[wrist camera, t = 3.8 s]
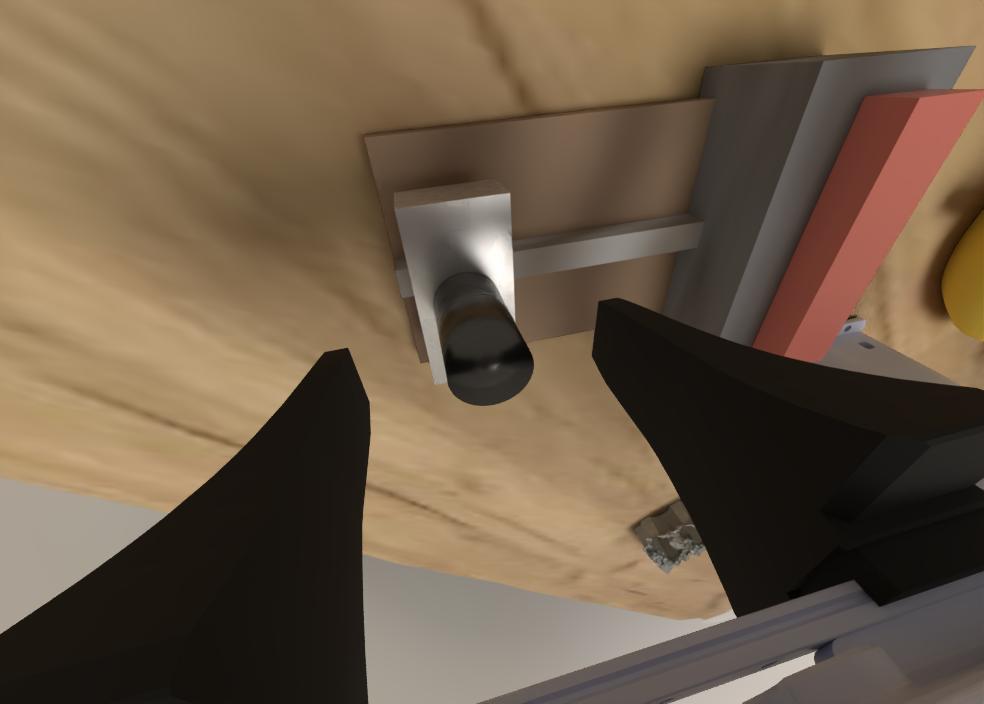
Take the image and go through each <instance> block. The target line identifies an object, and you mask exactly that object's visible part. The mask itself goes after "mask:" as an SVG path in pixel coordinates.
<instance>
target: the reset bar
mask: <svg viewBox="0 0 984 704" xmlns="http://www.w3.org/2000/svg"><path fill="white" fill-rule="evenodd" d="M983 98H984V89H923V90H914V91H906V92H897V93H889V94H880V95H872V96H865V98H864V100H863V102H862V104H861V106H860V109H859V111H858V113H857V115H856V118H855V120H854V122H853V124H852V126H851V129H850V131H849V133H848V135H847V138H846V140H845V142H844V144H843V146H842V149H841V151H840V153H839V155H838V157H837V160H836V162H835V164H834V166H833V169H832V171H831V173H830V175H829V177H828V180H827V182H826V184H825V186H824V188H823V191H822V193H821V195H820V197H819V200H818V202H817V204H816V206H815V208H814V211H813V213H812V215H811V217H810V220H809V222H808V224H807V226H806V228H805V231H804V233H803V235H802V237H801V239H800V242H799V244H798V246H797V248H796V251H795V253H794V255H793V257H792V259H791V262H790V264H789V266H788V268H787V270H786V273H785V275H784V277H783V279H782V282H781V284H780V286H779V288H778V290H777V293H776V295H775V297H774V299H773V302H772V304H771V306H770V308H769V310H768V313H767V315H766V317H765V319H764V321H763V324H762V326H761V328H760V330H759V333H758V335H757V337H756V339H755V341H754V344H753V346H752V348H756V349H759V350H763V351H766V352H769V353H773V354H777V355H781V356H785V357H789V358H793V359H797V360H802V361H806V362H810V363H811V362H815V361H820V360H823V358H824V356H825V355H826V353H827V351H828V350H829V348H830V347H831V345H832V343H833V342H834V340H835V338H836V337H837V335H838V333H839V332H840V330H841V329H842V327H843V325H844V324H845V322H846V320H847V319H848V317H849V316H850V314H851V312H852V311H853V309H854V307H855V306H856V304H857V303H858V301H859V299H860V298H861V296H862V294H863V293H864V291H865V290H866V288H867V286H868V285H869V283H870V281H871V280H872V278H873V277H874V275H875V273H876V272H877V270H878V268H879V267H880V265H881V264H882V262H883V260H884V259H885V257H886V255H887V254H888V252H889V251H890V249H891V247H892V246H893V244H894V242H895V241H896V239H897V238H898V236H899V234H900V233H901V231H902V229H903V228H904V226H905V225H906V223H907V221H908V220H909V218H910V216H911V215H912V213H913V211H914V210H915V208H916V207H917V205H918V203H919V202H920V200H921V198H922V197H923V195H924V194H925V192H926V190H927V189H928V187H929V185H930V184H931V182H932V181H933V179H934V177H935V176H936V174H937V172H938V171H939V169H940V168H941V166H942V164H943V163H944V161H945V159H946V158H947V156H948V155H949V153H950V151H951V150H952V148H953V146H954V145H955V143H956V142H957V140H958V138H959V137H960V135H961V133H962V132H963V130H964V129H965V127H966V125H967V124H968V122H969V120H970V119H971V117H972V116H973V114H974V112H975V111H976V109H977V107H978V106H979V104H980V102H981V101H982V99H983Z"/></svg>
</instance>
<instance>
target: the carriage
mask: <svg viewBox="0 0 984 704" xmlns="http://www.w3.org/2000/svg"><path fill="white" fill-rule="evenodd" d="M394 209H395V214H396V218H397V222H398V227H399V231H400V235H401V240H402V244H403V248H404V253H405V257H406V261H407V266H408V270H409V275H410V279H411V283H412V288H413V292H414V296H415V301H416V305H417V309H418V314H419V318H420V322H421V327H422V331H423V335H424V340H425V344H426V349H427V353H428V357H429V362H430V366H431V370H432V375H433V379H434V383H435V385H438V384H443V383H448V386H449V388H450V390H451V391H452V393H453V394H454V395H455V396H456V397H457V398H458V399H460V400H461V401H463V402H466V403H468V404H472V405H478V406H488V405H495V404H498V403H501V402H504V401H506V400H509V399H510V398H512V397H514V396H515V395H517V394H518V393H519V392H520V391H521V390H523V388H524V387H525V386H526V385H527V383H528V382H529V380H530V378H531V376H532V374H533V369H534V360H533V356H532V354H531V352H530V350H529V348H528V346H527V344H526V342H525V340H524V339H523V337H522V335H521V333H520V331H519V329H518V327H517V325H516V323H515V298H514V274H513V250H512V225H511V201H510V192H509V191H508V190H507V189H505V188H504V187H503V186H502V185H501V184H500V183H499V182H498V181H497V180H496V179H493V180H486V181H478V182H471V183H463V184H456V185H448V186H440V187H433V188H425V189H418V190H410V191H403V192H395V193H394Z"/></svg>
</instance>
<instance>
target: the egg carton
mask: <svg viewBox="0 0 984 704" xmlns="http://www.w3.org/2000/svg"><path fill="white" fill-rule="evenodd" d="M635 531H636V533H637V535H638V536H639V538H640V540H641V542H642V544H643V546H644V548H642V549H643V551H644V552H646V553H647V555H648V556H649V557H650V558H651V560H653V561H654V562H655V563H656V564H657V566H658V567H660V568H661V569H662V570H663V571H664V572H665V573H666V574H668V573H669V572H670V571H671V570H672V568H673V567H674V566H675V565H679V564H680V562H681V560H684V561H686V560H687V559H689V556H690V555H691V554H692V555H696V556H699V555H700V554H701V552H702V551H703V550H705V549H706V548H705V546H704V544H703V542H702V540H701V538H700V536H699V534H698V532H697V530H696V528H695V526H694V523H693V521H692V519H691V517H690V515H689V513H688V511H687V510H686V508H685V506H684V504H683V502H682V501H677V502H675V503H674V504H672V505H670V507H669V509H668V510H667V511H666V512H665V513H663V514H662V515H659V516H656V517H650V516H649V517H647V518H645V519H643V520H642V521H641V524H640V525H639V526H638V527H637V528H636V529H635ZM657 537H661V538H660V539H658V538H657Z"/></svg>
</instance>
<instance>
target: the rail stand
mask: <svg viewBox="0 0 984 704" xmlns="http://www.w3.org/2000/svg"><path fill="white" fill-rule="evenodd" d="M975 47H976V46H962V47H946V48H931V49H915V50H900V51H884V52H869V53H853V54H837V55H823V56H813V57H802V58H792V59H782V60H772V61H762V62H752V63H741V64H731V65H721V66H711V67H706V68H705V72H704V77H703V81H702V86H701V90H700V95H699V98H692V99H683V100H674V101H665V102H656V103H647V104H638V105H629V106H620V107H611V108H602V109H593V110H583V111H574V112H565V113H556V114H547V115H538V116H529V117H520V118H511V119H502V120H493V121H484V122H475V123H466V124H457V125H448V126H439V127H430V128H421V129H412V130H402V131H393V132H384V133H375V134H366V135H365V137H364V140H365V144H366V148H367V152H368V156H369V160H370V164H371V168H372V172H373V176H374V180H375V183H376V187H377V191H378V195H379V199H380V203H381V207H382V211H383V215H384V219H385V223H386V227H387V231H388V235H389V239H390V243H391V247H392V251H393V255H394V260H395V274H396V278H397V282H398V286H399V290H400V294H401V298H404V299H405V303H406V307H407V311H408V315H409V319H410V323H411V327H412V331H413V335H414V339H415V343H416V347H417V351H418V355H419V359H420V363H425V362H429V357H428V353H427V349H426V344H425V340H424V335H423V331H422V327H421V322H420V318H419V314H418V309H417V305H416V301H415V296H414V292H413V288H412V283H411V279H410V275H409V270H408V266H407V261H406V257H405V253H404V248H403V244H402V240H401V235H400V231H399V227H398V222H397V218H396V214H395V209H394V193H395V192H403V191H410V190H418V189H425V188H433V187H440V186H448V185H456V184H463V183H471V182H478V181H486V180H493V179H496V180H497V181H498V182H499V183H500V184H501V185H502V186H503V187H504V188H505V189H507V190H508V191H509V192H510V201H511V225H512V250H513V274H514V298H515V323H516V325H517V327H518V329H519V331H520V333H521V335H522V337H523V339H524V340H525V342H526V343H527V342H532V341H538V340H543V339H548V338H553V337H558V336H563V335H568V334H574V333H579V332H584V331H589V330H594V329H595V325H596V317H597V308H598V301H602V300H607V299H612V298H621V299H624V300H627V301H630V302H632V303H635V304H638V305H640V306H643V307H645V308H647V309H650V310H652V311H655V312H657V313H659V314H662V315H664V316H667V317H669V318H671V319H674V320H676V321H679V322H681V323H684V324H686V325H689V326H691V327H694V328H696V329H699V330H702V331H704V332H707V333H710V334H713V335H715V336H718V337H721V338H724V339H727V340H730V341H733V342H736V343H739V344H742V345H745V346H749V347H752V346H753V344H754V341H755V339H756V337H757V335H758V333H759V330H760V328H761V326H762V324H763V321H764V319H765V317H766V315H767V313H768V310H769V308H770V306H771V304H772V302H773V299H774V297H775V295H776V293H777V290H778V288H779V286H780V284H781V282H782V279H783V277H784V275H785V273H786V270H787V268H788V266H789V264H790V262H791V259H792V257H793V255H794V253H795V251H796V248H797V246H798V244H799V242H800V239H801V237H802V235H803V233H804V231H805V228H806V226H807V224H808V222H809V220H810V217H811V215H812V213H813V211H814V208H815V206H816V204H817V202H818V200H819V197H820V195H821V193H822V191H823V188H824V186H825V184H826V182H827V180H828V177H829V175H830V173H831V171H832V169H833V166H834V164H835V162H836V160H837V157H838V155H839V153H840V151H841V149H842V146H843V144H844V142H845V140H846V138H847V135H848V133H849V131H850V129H851V126H852V124H853V122H854V120H855V118H856V115H857V113H858V111H859V109H860V106H861V104H862V102H863V100H864V98H865V96H872V95H880V94H889V93H897V92H906V91H914V90H923V89H952V88H953V86H954V85H955V83H956V81H957V79H958V78H959V76H960V74H961V72H962V70H963V69H964V67H965V65H966V63H967V62H968V60H969V58H970V56H971V55H972V53H973V51H974V49H975Z"/></svg>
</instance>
